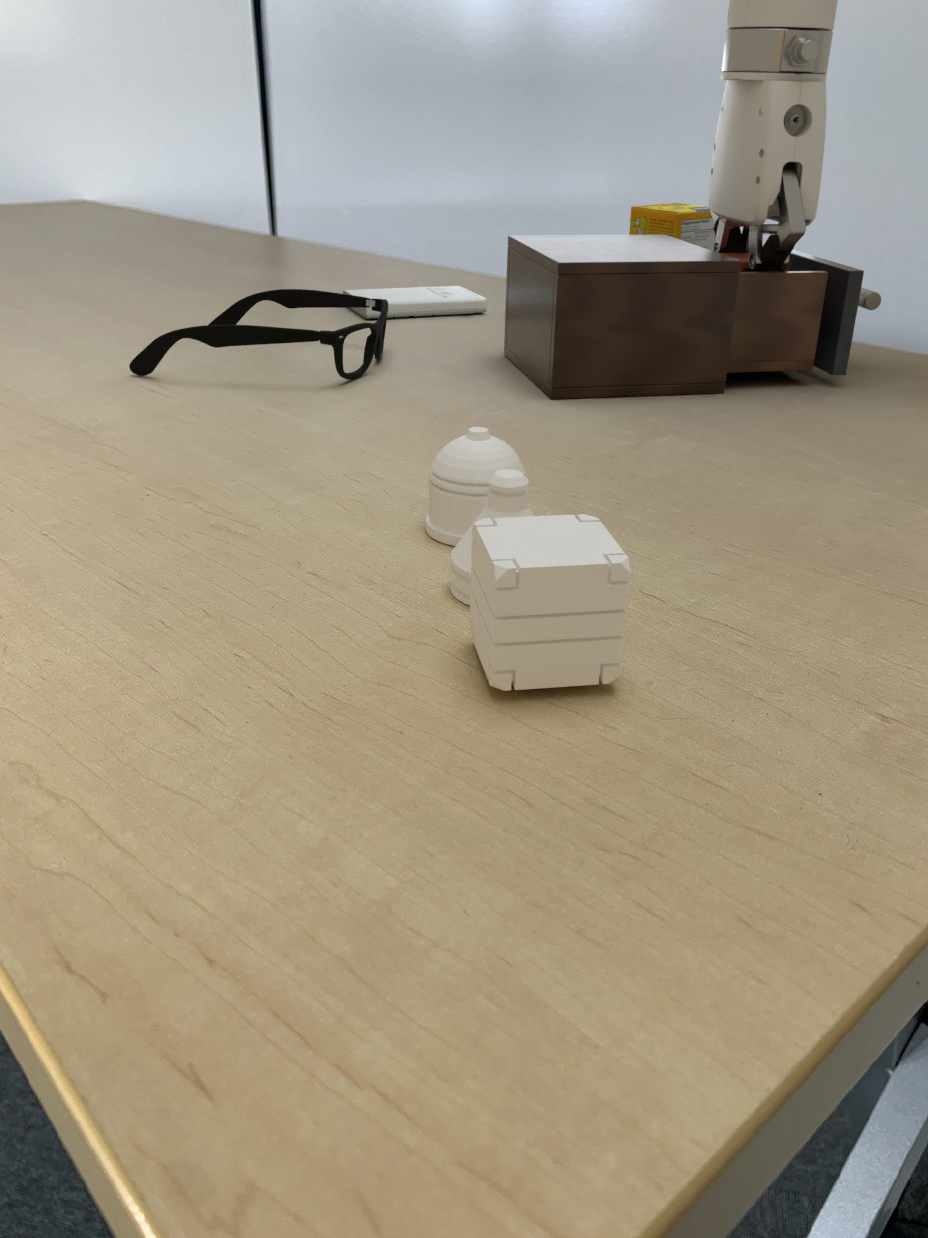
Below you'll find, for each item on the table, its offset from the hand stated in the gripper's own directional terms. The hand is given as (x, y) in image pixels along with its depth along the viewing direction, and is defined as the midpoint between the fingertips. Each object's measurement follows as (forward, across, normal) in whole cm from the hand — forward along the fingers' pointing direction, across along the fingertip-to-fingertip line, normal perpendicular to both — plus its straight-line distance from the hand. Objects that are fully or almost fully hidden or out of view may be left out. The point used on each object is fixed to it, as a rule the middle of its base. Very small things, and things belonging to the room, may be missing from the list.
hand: (742, 311), depth 88 cm
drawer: (+4, 0, -2) cm, 4 cm away
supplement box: (+5, +16, 0) cm, 17 cm away
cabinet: (+5, 0, +11) cm, 12 cm away
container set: (+5, -39, +29) cm, 49 cm away
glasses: (+5, +7, +37) cm, 38 cm away
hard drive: (+5, +28, +22) cm, 36 cm away
